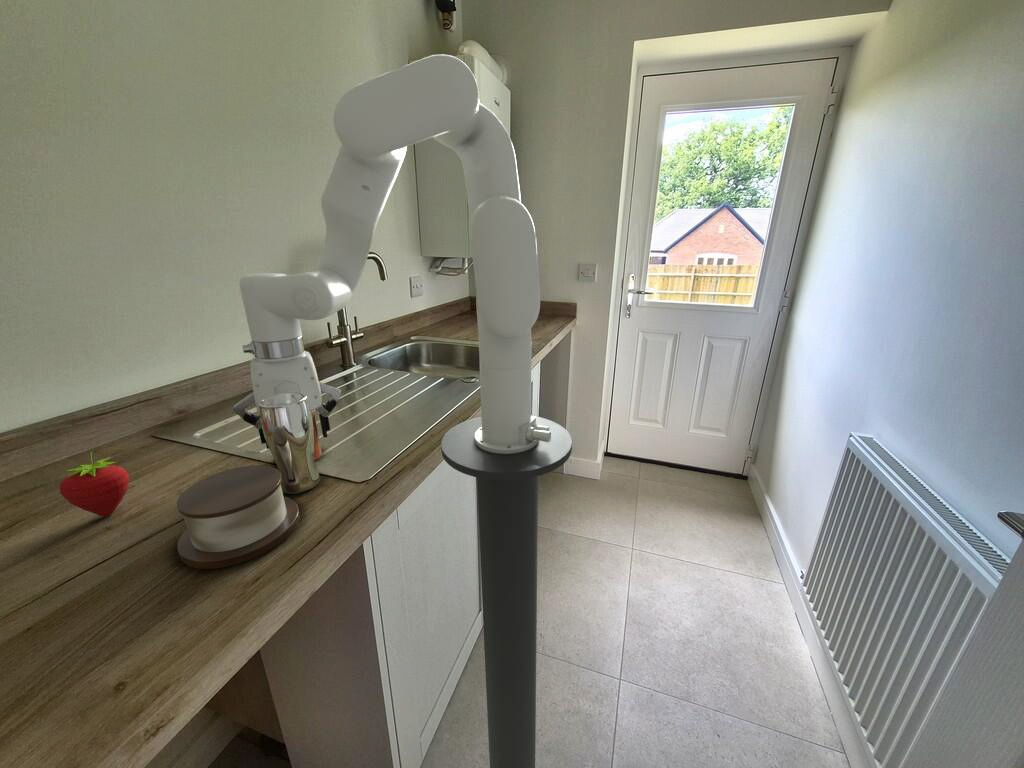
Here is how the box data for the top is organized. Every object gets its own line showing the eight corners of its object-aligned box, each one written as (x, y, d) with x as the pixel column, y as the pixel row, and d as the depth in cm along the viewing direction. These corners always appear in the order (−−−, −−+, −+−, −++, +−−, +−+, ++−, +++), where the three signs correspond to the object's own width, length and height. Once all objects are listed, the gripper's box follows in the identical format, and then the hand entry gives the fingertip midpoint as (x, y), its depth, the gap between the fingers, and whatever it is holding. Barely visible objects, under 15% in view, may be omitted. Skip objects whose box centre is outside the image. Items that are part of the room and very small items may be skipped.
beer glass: (295, 471, 71) (278, 390, 66) (331, 474, 70) (317, 392, 65) (266, 494, 65) (245, 406, 60) (305, 497, 64) (287, 408, 59)
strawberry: (92, 506, 62) (69, 447, 59) (149, 500, 64) (129, 442, 60) (60, 531, 57) (33, 468, 53) (124, 524, 58) (100, 461, 55)
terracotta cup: (330, 452, 78) (323, 413, 75) (297, 470, 72) (288, 428, 69) (304, 445, 81) (296, 407, 78) (270, 461, 75) (260, 421, 72)
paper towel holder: (321, 515, 59) (313, 473, 57) (222, 584, 47) (207, 534, 45) (258, 492, 65) (249, 453, 63) (156, 549, 53) (139, 503, 51)
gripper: (215, 360, 63) (240, 460, 68) (336, 346, 70) (350, 437, 76) (221, 350, 69) (244, 442, 74) (332, 338, 76) (345, 423, 82)
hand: (298, 439), depth 75 cm, fingers open, 8 cm apart
